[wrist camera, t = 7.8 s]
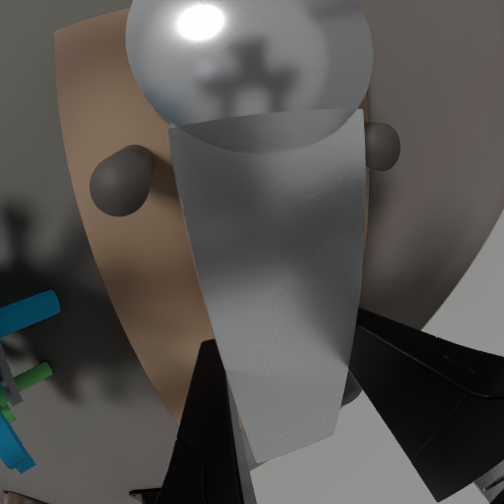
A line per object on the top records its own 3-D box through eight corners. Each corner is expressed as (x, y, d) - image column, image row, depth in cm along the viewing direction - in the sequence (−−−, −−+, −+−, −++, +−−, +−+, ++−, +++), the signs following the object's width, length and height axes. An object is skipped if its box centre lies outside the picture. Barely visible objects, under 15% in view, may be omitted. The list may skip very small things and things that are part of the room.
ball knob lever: (314, 384, 13) (342, 430, 10) (228, 413, 12) (246, 466, 9) (292, -4, 6) (352, -43, 3) (132, 6, 5) (122, -52, 2)
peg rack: (331, 377, 17) (365, 426, 13) (184, 422, 15) (198, 483, 11) (334, 19, 8) (414, -8, 4) (67, 42, 6) (14, -1, 2)
